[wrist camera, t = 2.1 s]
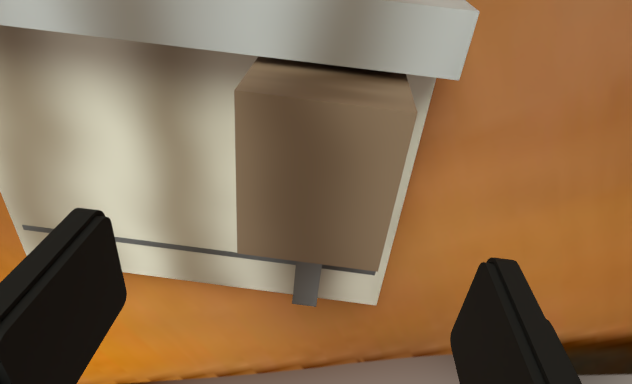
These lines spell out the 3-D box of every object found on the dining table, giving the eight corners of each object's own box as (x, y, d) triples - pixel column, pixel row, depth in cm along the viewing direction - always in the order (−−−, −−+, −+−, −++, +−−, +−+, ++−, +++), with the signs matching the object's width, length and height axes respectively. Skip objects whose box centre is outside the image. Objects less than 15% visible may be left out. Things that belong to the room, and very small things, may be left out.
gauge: (401, 59, 15) (417, 112, 11) (354, 284, 22) (353, 370, 18) (267, 43, 15) (234, 90, 11) (261, 272, 22) (239, 355, 18)
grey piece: (445, -16, 16) (479, 11, 12) (374, 273, 25) (378, 352, 21) (-50, -73, 17) (-204, -69, 12) (55, 232, 26) (-11, 300, 21)
